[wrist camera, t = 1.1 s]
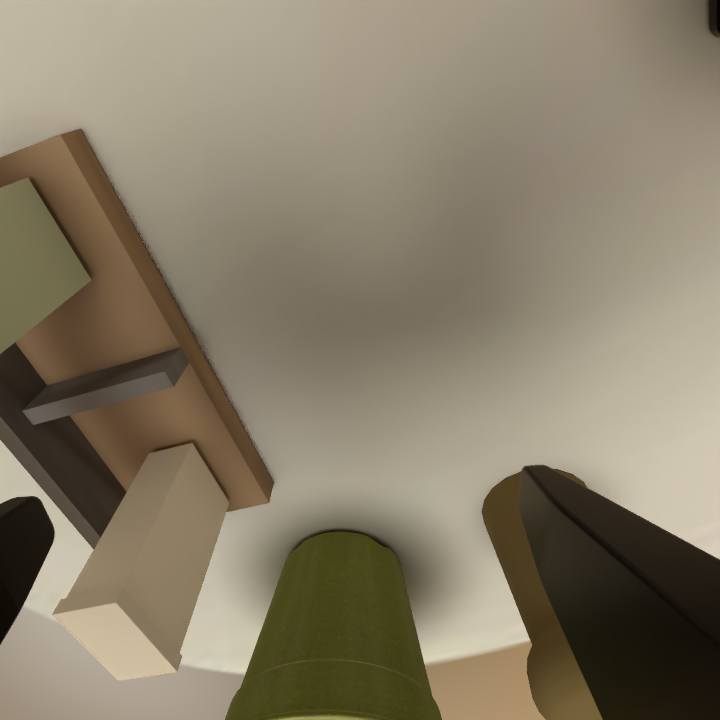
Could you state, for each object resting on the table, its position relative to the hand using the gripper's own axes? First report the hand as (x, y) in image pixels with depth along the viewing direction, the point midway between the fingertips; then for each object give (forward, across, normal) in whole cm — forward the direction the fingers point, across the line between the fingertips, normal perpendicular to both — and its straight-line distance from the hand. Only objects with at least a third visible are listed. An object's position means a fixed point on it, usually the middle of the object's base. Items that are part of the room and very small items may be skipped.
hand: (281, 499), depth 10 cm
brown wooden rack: (+15, -10, -4) cm, 19 cm away
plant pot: (+15, -1, -20) cm, 25 cm away
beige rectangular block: (+13, -8, -11) cm, 19 cm away
